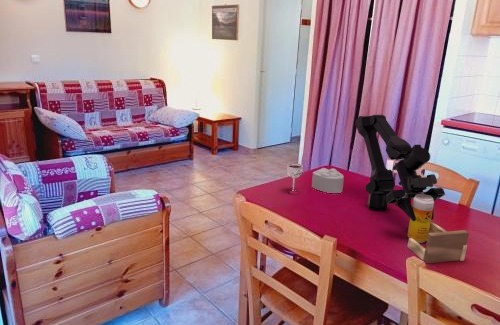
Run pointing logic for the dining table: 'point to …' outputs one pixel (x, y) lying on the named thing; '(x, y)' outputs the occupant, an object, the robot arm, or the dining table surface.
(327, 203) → the dining table surface
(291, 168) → the wineglass
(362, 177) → the dining table surface
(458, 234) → the shelf
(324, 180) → the grey lumpy block
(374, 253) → the dining table surface
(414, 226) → the beer can
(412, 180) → the robot arm
